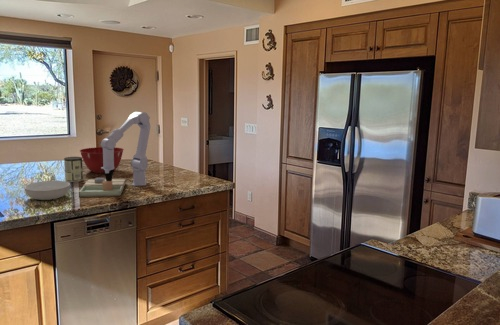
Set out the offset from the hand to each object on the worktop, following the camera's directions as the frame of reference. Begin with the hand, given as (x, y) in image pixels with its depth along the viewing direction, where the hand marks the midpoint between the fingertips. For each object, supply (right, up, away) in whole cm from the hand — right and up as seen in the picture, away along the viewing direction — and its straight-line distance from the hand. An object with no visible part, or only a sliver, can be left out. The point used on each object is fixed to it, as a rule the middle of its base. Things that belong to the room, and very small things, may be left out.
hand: (109, 183), depth 220 cm
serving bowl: (-24, -7, -20) cm, 32 cm away
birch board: (-4, -3, +6) cm, 8 cm away
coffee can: (-29, +1, +20) cm, 35 cm away
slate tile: (-7, 0, +5) cm, 9 cm away
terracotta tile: (+1, -1, -4) cm, 4 cm away
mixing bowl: (-22, +5, +49) cm, 54 cm away
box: (-1, -5, -8) cm, 9 cm away
